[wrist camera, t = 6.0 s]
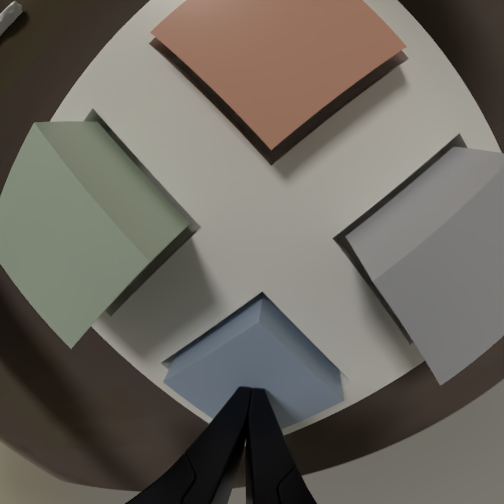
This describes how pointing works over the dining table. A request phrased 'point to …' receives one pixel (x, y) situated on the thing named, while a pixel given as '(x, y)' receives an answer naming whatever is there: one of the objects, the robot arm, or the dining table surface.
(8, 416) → the dining table surface
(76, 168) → the key sage
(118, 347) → the keypad
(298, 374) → the key slate
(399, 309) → the key grey
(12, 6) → the person figurine
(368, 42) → the key terracotta
